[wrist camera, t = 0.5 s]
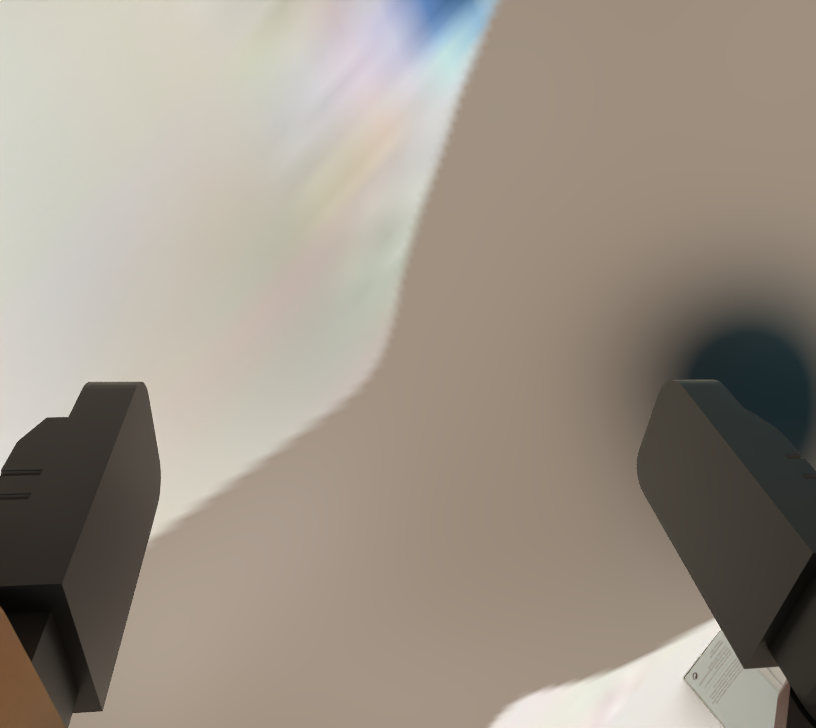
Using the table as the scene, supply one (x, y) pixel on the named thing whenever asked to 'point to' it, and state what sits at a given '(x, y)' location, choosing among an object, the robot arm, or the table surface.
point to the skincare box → (735, 687)
